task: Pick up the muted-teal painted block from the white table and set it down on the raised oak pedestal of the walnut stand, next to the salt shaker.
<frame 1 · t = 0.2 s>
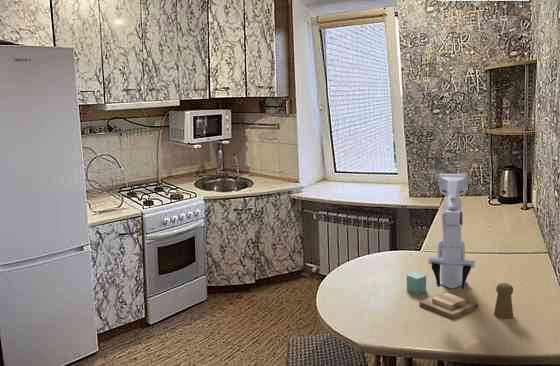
hand: (450, 287, 179), 11 cm above the countertop, tool pointing down, fingers open, 7 cm apart
salt shaker: (503, 316, 181), on the countertop
walnut stand: (448, 306, 189), on the countertop
teal block: (416, 290, 205), on the countertop
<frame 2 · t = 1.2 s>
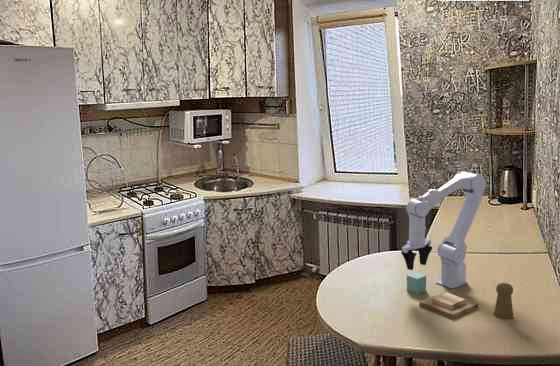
hand: (416, 266, 203), 9 cm above the countertop, tool pointing down, fingers open, 7 cm apart
nothing on the countertop moved.
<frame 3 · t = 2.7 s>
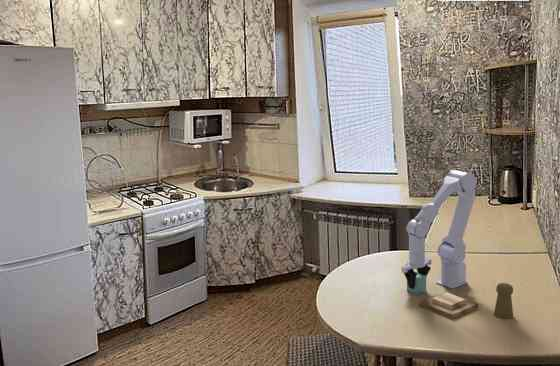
hand: (416, 286, 204), 2 cm above the countertop, tool pointing down, fingers closed on teal block, 5 cm apart
teal block: (416, 290, 205), on the countertop, touching gripper
everything else where it was.
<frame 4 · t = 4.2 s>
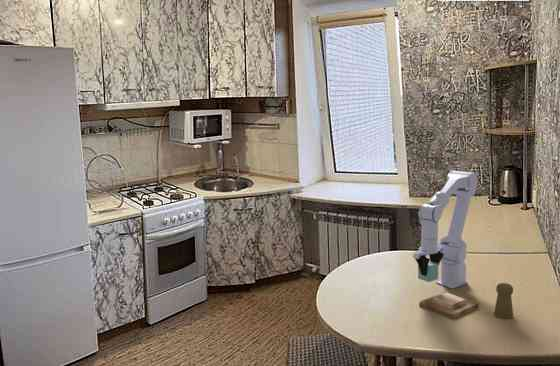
hand: (428, 273, 197), 9 cm above the countertop, tool pointing down, fingers closed on teal block, 5 cm apart
teal block: (428, 278, 198), point 7 cm above the countertop, touching gripper
everything else where it was.
when the fingers open (6 cm above the countertop, at t = 5.9 s): teal block stays where it is, resting on walnut stand.
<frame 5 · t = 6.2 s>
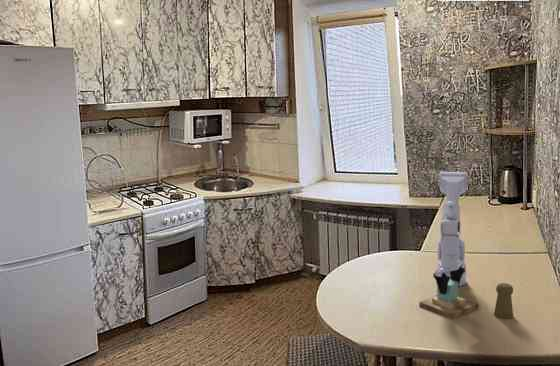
hand: (448, 290, 188), 6 cm above the countertop, tool pointing down, fingers open, 7 cm apart
teal block: (447, 298, 189), point 3 cm above the countertop, touching walnut stand
everything else where it was.
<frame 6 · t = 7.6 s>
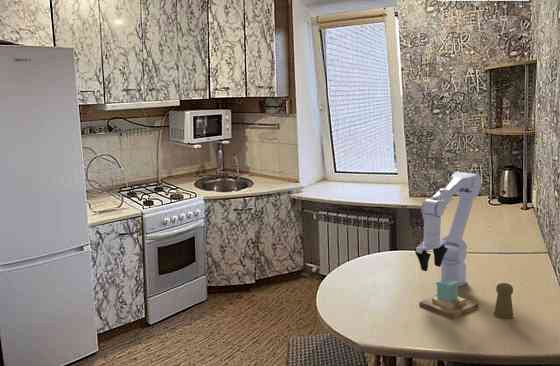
hand: (431, 268, 198), 10 cm above the countertop, tool pointing down, fingers open, 7 cm apart
nothing on the countertop moved.
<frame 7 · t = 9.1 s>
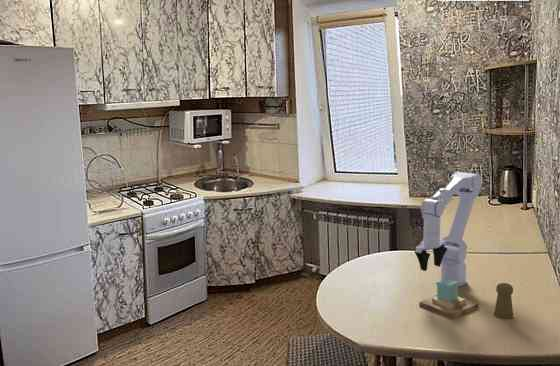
hand: (430, 268, 198), 10 cm above the countertop, tool pointing down, fingers open, 7 cm apart
nothing on the countertop moved.
at the end: teal block inside the target area on the walnut stand (0.5 cm from its centre), point 3.0 cm above the walnut stand's base; teal block tilted 0°; the gripper is holding nothing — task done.
